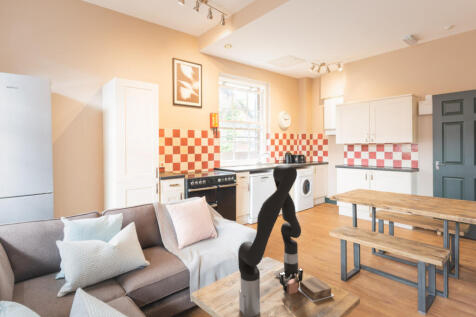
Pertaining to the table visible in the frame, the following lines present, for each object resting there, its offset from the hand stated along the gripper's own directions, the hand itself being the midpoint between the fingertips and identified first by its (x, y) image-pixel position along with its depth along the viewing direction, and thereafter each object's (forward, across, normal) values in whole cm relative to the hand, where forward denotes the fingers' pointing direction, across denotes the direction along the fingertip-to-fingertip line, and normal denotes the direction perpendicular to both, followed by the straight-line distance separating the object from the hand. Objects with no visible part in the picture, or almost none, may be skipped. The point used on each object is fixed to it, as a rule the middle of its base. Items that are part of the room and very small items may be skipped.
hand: (291, 290), depth 142 cm
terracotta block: (+1, 0, 0) cm, 2 cm away
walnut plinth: (0, +11, -6) cm, 13 cm away
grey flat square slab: (+1, +11, -6) cm, 13 cm away
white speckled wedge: (+2, +4, +15) cm, 16 cm away
